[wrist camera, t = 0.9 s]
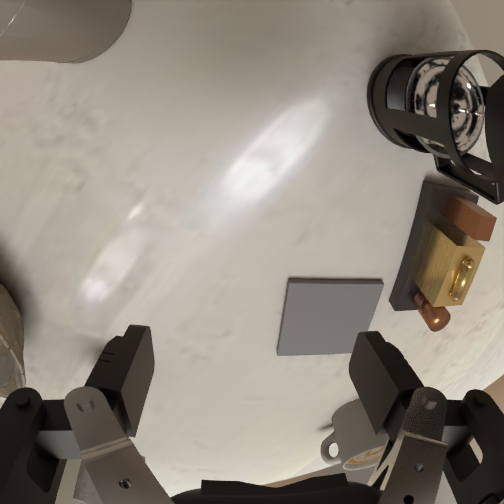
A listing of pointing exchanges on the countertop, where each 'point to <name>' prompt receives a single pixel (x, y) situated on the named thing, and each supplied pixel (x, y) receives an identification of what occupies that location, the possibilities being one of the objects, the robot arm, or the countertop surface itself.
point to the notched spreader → (86, 488)
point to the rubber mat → (326, 315)
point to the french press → (445, 116)
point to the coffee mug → (353, 439)
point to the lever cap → (448, 266)
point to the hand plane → (428, 214)
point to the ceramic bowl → (10, 345)
